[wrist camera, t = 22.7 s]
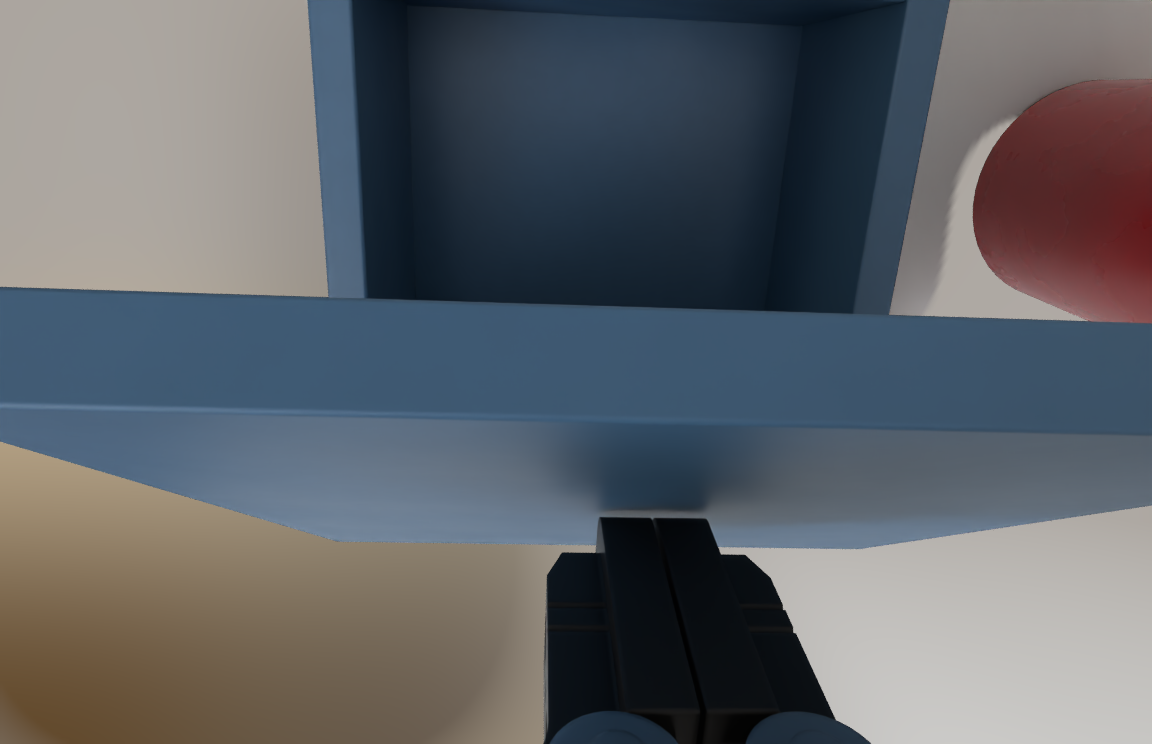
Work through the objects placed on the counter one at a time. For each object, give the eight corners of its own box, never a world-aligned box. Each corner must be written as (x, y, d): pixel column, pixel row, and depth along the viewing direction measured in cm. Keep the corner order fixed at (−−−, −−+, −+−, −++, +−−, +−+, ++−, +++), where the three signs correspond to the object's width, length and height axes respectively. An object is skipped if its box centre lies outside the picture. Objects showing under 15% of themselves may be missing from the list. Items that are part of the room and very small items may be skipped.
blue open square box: (379, -28, 19) (300, -83, 13) (827, -4, 20) (960, -46, 14) (396, 395, 23) (343, 510, 17) (769, 404, 24) (850, 519, 18)
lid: (-98, 281, 5) (-132, 405, 5) (1527, 333, 6) (1567, 444, 5) (339, 501, 17) (335, 541, 17) (856, 511, 17) (859, 549, 17)
